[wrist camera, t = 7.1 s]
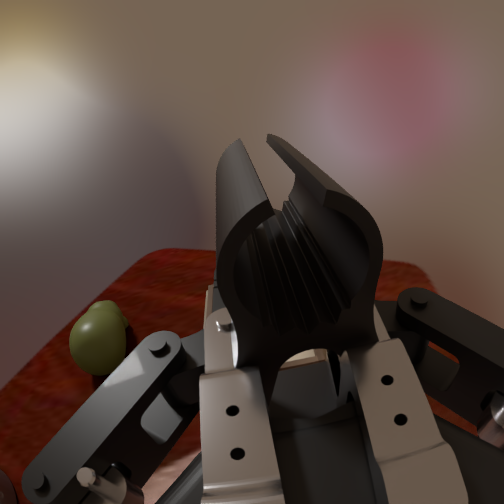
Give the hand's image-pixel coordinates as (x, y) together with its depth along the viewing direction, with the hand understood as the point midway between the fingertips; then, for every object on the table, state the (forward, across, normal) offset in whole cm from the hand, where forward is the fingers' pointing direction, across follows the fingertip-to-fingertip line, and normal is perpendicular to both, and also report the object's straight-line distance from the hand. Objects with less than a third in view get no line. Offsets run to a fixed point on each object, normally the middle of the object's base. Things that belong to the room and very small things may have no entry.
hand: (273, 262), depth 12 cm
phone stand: (-3, 0, +7) cm, 8 cm away
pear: (+10, +17, +14) cm, 24 cm away
